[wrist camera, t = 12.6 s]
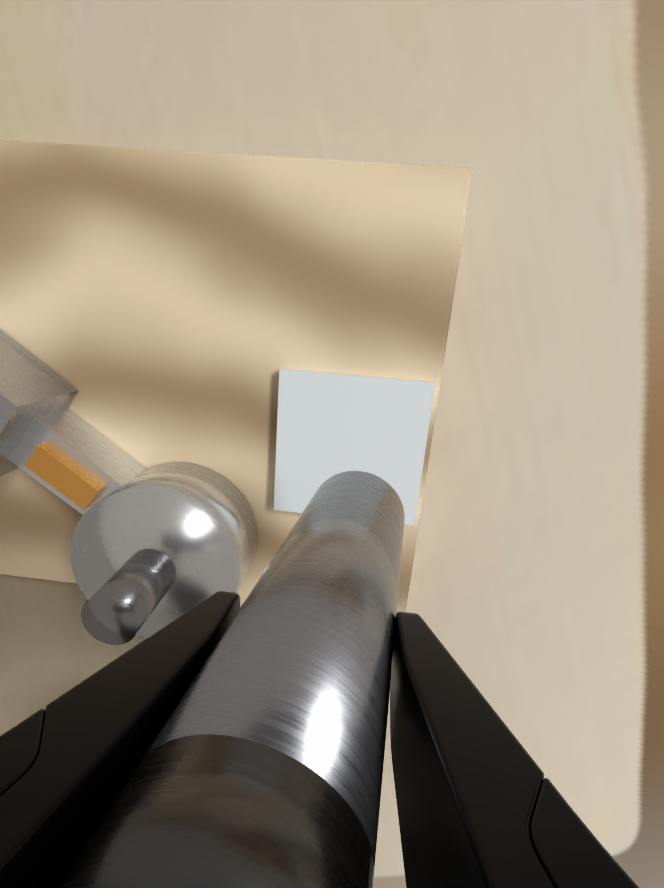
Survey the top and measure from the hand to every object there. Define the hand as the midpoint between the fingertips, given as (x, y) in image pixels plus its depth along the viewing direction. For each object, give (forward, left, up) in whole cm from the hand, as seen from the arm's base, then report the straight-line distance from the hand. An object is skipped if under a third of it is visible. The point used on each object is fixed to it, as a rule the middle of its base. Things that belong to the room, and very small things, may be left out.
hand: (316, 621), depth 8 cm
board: (+1, +7, -13) cm, 15 cm away
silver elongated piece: (-2, +11, -11) cm, 16 cm away
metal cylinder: (0, -1, -5) cm, 5 cm away
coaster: (0, 0, -11) cm, 11 cm away
